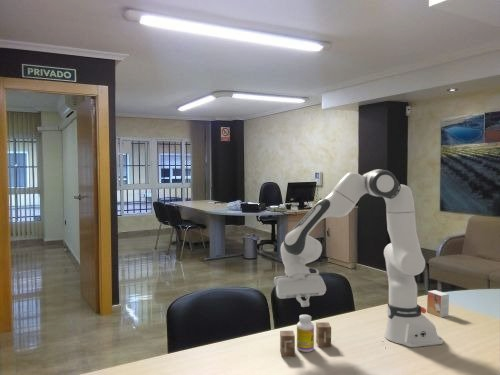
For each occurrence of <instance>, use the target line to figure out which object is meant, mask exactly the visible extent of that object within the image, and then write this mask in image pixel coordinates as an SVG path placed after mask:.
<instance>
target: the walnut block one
mask: <svg viewBox="0 0 500 375" xmlns="http://www.w3.org/2000/svg"><path fill="white" fill-rule="evenodd" d="M315 324H316V326H315V327H316V328H315V330H316V331H315V332H316V333H315V334H316V335H315V336H316V337H315V338H316V340H315V341H316V344H317V347H318V348H331V347H332V326H331V324H330V322H329V321H327V322H326V321H325V322H324V321H323V322H316V323H315Z"/></svg>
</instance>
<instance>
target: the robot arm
mask: <svg viewBox="0 0 500 375" xmlns="http://www.w3.org/2000/svg"><path fill="white" fill-rule="evenodd" d="M365 195H371V196H373V197H381V198H383V199H384V202H385V207H386V208H385V211H386V212H385V213H386V227H387V232H388V235H389V239H390V243H388V244H387V245H386V246H385V247H384V249H383V257H384V260H385V267H386V274H387V280H388V281H387V282H388V302H387V307H386V309H387V324H386V328H385V331H384V337H385V338H386V339H387V340H388V341H390V342H392V343H396V344H399V345H404V346H405V347H408V348H418V347H423V346H424V347H427V346H435V345H442V344H444V339H443V337H442V336H441V335H440V334H439V333H438V332H437V331H438V330H437V328H436V325H435V324H434V322H432V321H431V320H430V319H429V318H427V317H426V316H425V315H424V314H426V313H427V308H425V307H422V306H421V305H419V304H418V284H417V282H416V278H415V276H417V275H420V274H421V273H422V272H423V271H424V270H425V267H426V259H425V257H424V255H423V253H422V249H421V245H420V240H419V237H418V234H417V226H416V225H417V223H416V209H415V200H414V197H413V191H412V189H411V188H410V186H407V185H405V184H402V183H401V184H400V182H399V181H398V179H397V178H396V176H395V174H394V173H393V172H391V171H389V170H386V169H379V168H378V169H377V168H376V169H373V170H369V171H366V172H365V173H362V174H360V173H359V172H356V171H355V172H354V171H350V172H347V173H346V174H345V175H344V176H342V178H341V179H339V181H338V182H337V183H336V185H334V188H333V189H332V190H331V192H330V193H329V194H328V195H326V196H325V197H324V198H323V199H320V200H318V201H317V202H316V203H315V204H313V206H312V207H311V208H310V209H309V210H308V212H307V213H306V214H305V215H304V216H303V217H302V218H301V219H300V220H299V221H298V222H297V224H296V225H295V226H293V227H292V228H291V229H290V230H288V232H286V234H285V235H284V237H283V242H282V243H281V245H280V249H279V250H280V257H281V261H282V264H283V265H284V273H285V275H277V276H276V277H274V278H273V283H274V285H275V291H276V297H277V298H278V299H279V300H280V299H281V300H282V299H291V298H295V299H296V301H297V302H298V303H300V307H302V308H305V307H309V306H310V299H311V298H310V297H316V296H318V297H319V296H324V294H326V291H327V286H326V283H325V281H324V279H323V277H322V275H320V271H319V269H318V268H314V267H309V266H306V265H307V264H309V263H313V262H315V261H317V260H318V259H319V258H320V257H321V255H322V253H323V245H322V243H321V242H320V241H319V240H318V239H317V238H314V237H312V236H310V233H311V232H312V231H313V229H314V228H316V226H317V225H318V224H319V223H320V222H321V221H322V220H324V219H326V218H342V217H346V216H347V215H348V214H350V213H351V212H352V210H353V209H354V208H355V207H356V205H357V203H358V201H359V200H360V198H362V197H363V196H365ZM302 298H305V299H306V300H303V299H302Z"/></svg>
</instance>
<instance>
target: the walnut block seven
mask: <svg viewBox="0 0 500 375" xmlns="http://www.w3.org/2000/svg"><path fill="white" fill-rule="evenodd" d="M279 332H280V333H279V334H280V335H279V338H280V339H279V342H280V343H279V348H280V349H279V351H280V356H281V358H295V357H296V345H295V343H296V338H295V337H296V335H295V332H294V330H280V331H279Z"/></svg>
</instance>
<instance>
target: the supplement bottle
mask: <svg viewBox="0 0 500 375" xmlns="http://www.w3.org/2000/svg"><path fill="white" fill-rule="evenodd" d="M314 331H315V324H314V323H313V322H312V316H311V315H309V314H300V315H299V321H298V322H297V324H296V349H297V350H298V351H300V352H304V353H310V352H312V351H314V349H315V348H314V347H315V332H314Z"/></svg>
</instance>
